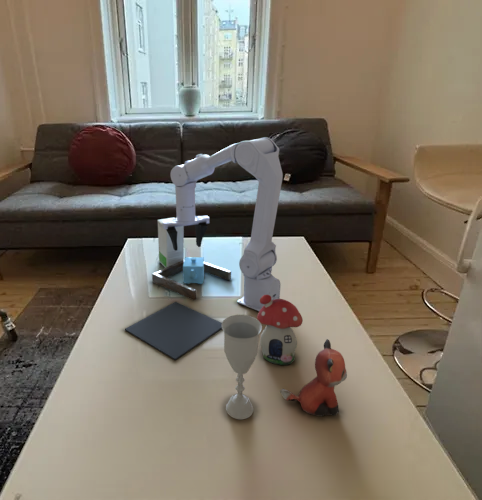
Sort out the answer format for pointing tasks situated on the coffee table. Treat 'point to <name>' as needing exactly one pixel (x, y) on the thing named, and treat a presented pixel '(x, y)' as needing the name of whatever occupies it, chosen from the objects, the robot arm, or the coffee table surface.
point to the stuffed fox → (322, 384)
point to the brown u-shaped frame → (182, 289)
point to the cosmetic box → (170, 245)
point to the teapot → (193, 270)
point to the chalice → (240, 358)
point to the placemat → (175, 329)
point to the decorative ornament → (278, 330)
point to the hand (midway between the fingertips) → (187, 247)
